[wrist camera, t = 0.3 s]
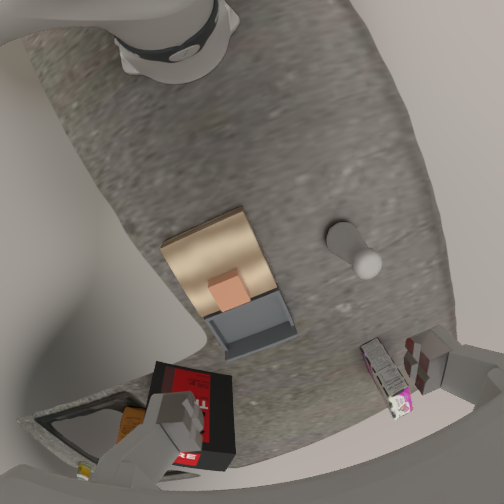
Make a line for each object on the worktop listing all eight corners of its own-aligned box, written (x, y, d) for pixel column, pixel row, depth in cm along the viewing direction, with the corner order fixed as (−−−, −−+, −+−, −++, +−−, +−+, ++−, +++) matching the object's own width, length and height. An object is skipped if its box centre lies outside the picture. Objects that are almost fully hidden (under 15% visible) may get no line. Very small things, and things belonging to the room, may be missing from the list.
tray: (204, 311, 52) (203, 328, 48) (276, 283, 51) (281, 298, 47) (226, 345, 56) (226, 362, 51) (293, 319, 55) (298, 336, 50)
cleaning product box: (231, 375, 60) (235, 454, 41) (222, 399, 63) (224, 471, 44) (156, 360, 57) (139, 438, 38) (153, 385, 60) (139, 458, 41)
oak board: (163, 241, 46) (159, 249, 44) (241, 206, 45) (243, 211, 42) (202, 307, 52) (201, 317, 49) (274, 278, 51) (277, 287, 48)
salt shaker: (354, 246, 50) (388, 281, 38) (323, 253, 50) (351, 291, 38) (352, 215, 47) (389, 243, 35) (321, 221, 47) (351, 252, 35)
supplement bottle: (88, 468, 82) (84, 485, 73) (78, 462, 80) (73, 479, 71) (93, 466, 81) (89, 484, 72) (82, 461, 79) (78, 479, 70)
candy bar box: (386, 362, 63) (413, 410, 48) (368, 372, 64) (393, 421, 49) (378, 335, 59) (410, 386, 44) (358, 345, 60) (387, 399, 44)
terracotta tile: (208, 280, 46) (207, 287, 44) (237, 268, 46) (237, 275, 44) (222, 303, 48) (222, 312, 46) (249, 292, 48) (250, 301, 46)
